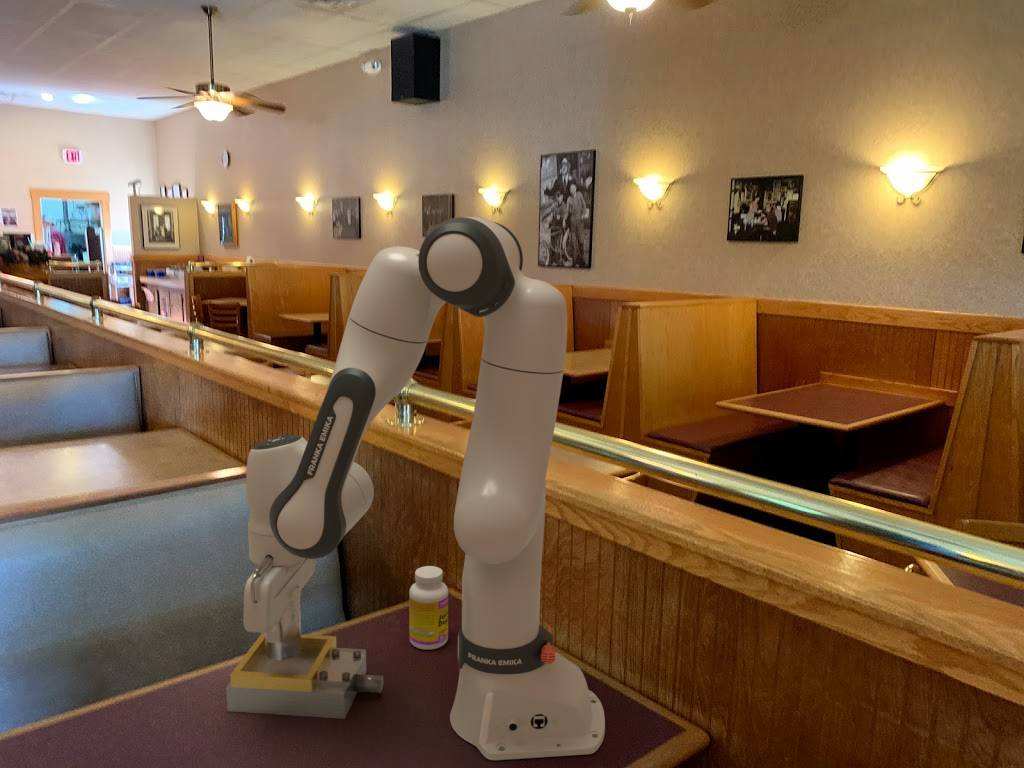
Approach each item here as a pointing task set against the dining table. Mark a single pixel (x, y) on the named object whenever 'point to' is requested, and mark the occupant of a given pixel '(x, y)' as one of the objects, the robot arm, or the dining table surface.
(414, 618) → the supplement bottle
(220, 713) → the dining table surface
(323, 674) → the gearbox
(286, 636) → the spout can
